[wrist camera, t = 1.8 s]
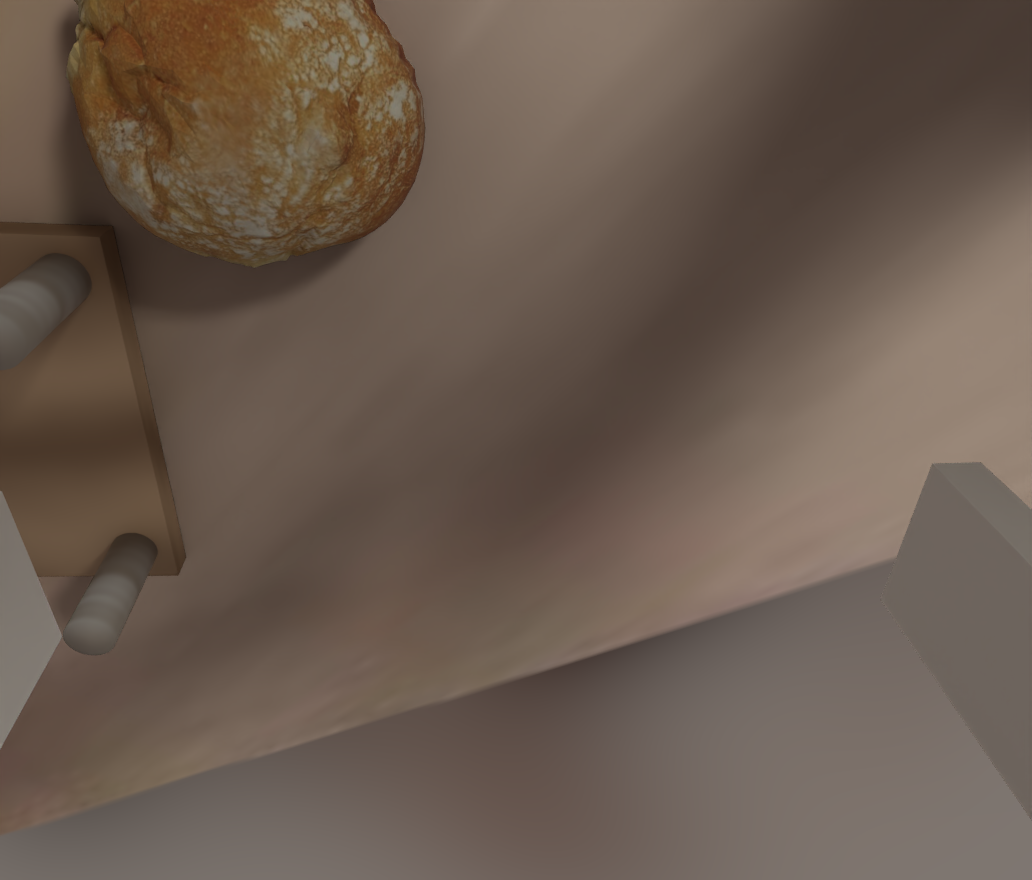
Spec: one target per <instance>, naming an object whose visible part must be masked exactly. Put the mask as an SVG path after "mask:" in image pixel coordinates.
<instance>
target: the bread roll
mask: <svg viewBox="0 0 1032 880" xmlns="http://www.w3.org/2000/svg"><path fill="white" fill-rule="evenodd" d="M74 1H75V2H76V3H77V5H78V12H79V21H80V23H79V24H78V25H76V29H75V31H76V35H77V36H76V41H77V42H76V43H75V44H74V45H73V47H72V50H71V52H70V54H69V57H68V64H67V71H66V78H67V79H68V80H69V83H70V89H71V93H72V94H73V95H74V99H75V104H76V108H77V112H78V116H79V120H80V124H81V128H82V132H83V135H84V138H85V140H86V142H87V145H88V147H89V150H90V152H91V155H92V159H93V161H94V163H95V165H96V166H97V168H98V170H99V172H100V173H101V175H102V177H103V179H104V182H105V184H106V186H107V189H108V190H109V191H110V193H111V194H112V195H113V196H114V198H115V199H116V200H117V201H118V203H119V204H120V205H121V206H122V207H123V208H124V209H125V210H126V211H127V212H128V213H129V215H130V216H131V217H132V218H133V219H134V220H135V221H136V222H138V223H139V224H140V225H141V226H143V227H144V228H145V229H147V230H148V231H150V232H151V233H152V234H154V235H155V236H157V237H159V238H161V239H164V240H166V241H168V242H170V243H172V244H174V245H176V246H178V247H180V248H183V249H185V250H187V251H190V252H194V253H196V254H199V255H202V256H205V257H208V256H213V257H216V258H219V259H221V260H224V261H228V262H231V263H235V264H243V265H244V266H251V267H253V268H256V267H259V266H261V265H264V264H268V263H272V262H276V261H287V259H288V258H289V256H290V255H295V256H299V255H303V254H306V253H309V252H313V251H316V250H319V249H322V248H326V247H330V246H333V245H338V244H342V243H347V242H351V241H354V240H356V239H359V238H361V237H364V236H365V235H367V234H369V233H371V232H373V231H375V230H376V229H377V228H378V227H380V226H381V225H382V224H384V223H385V222H386V221H387V220H388V219H389V218H390V217H391V216H392V215H393V214H394V213H395V212H396V211H397V209H398V208H399V207H400V206H401V205H402V203H403V201H404V200H405V198H406V196H407V194H408V193H409V191H410V189H411V187H412V185H413V183H414V181H415V178H416V175H417V172H418V169H419V166H420V162H421V158H422V153H423V147H424V138H425V123H424V110H423V101H422V95H421V92H420V90H419V88H418V86H417V84H416V77H415V70H414V68H413V67H412V65H411V64H410V63H409V62H408V61H407V60H406V58H405V55H404V52H403V48H402V45H401V44H400V43H399V42H398V41H396V40H395V39H394V38H393V37H392V36H391V34H390V31H389V29H388V27H387V25H386V24H385V23H384V22H383V21H382V20H381V19H380V17H379V16H378V15H377V14H376V10H375V5H374V3H373V0H74Z"/></svg>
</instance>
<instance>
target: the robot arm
mask: <svg viewBox="0 0 1032 880" xmlns="http://www.w3.org/2000/svg"><path fill="white" fill-rule="evenodd" d="M881 601H882V603H883V604H884V606H885V607H886V609H887V610H888V612H889V613H890V614H891V616H892V617H893V619H894V620H895V622H896V623H897V625H898V626H899V627H900V629H901V630H902V632H903V633H904V635H905V636H906V638H907V639H908V641H909V642H910V644H911V645H912V646H913V648H914V649H915V651H916V652H917V654H918V655H919V657H920V658H921V660H922V661H923V663H924V664H925V665H926V667H927V668H928V670H929V671H930V673H931V674H932V676H933V677H934V679H935V680H936V681H937V683H938V684H939V686H940V687H941V689H942V690H943V692H944V693H945V694H946V696H947V697H948V699H949V700H950V702H951V703H952V705H953V706H954V708H955V709H956V711H957V712H958V713H959V715H960V716H961V718H962V719H963V721H964V722H965V724H966V725H967V727H968V728H969V730H970V731H971V733H972V734H973V735H974V737H975V738H976V740H977V741H978V743H979V744H980V746H981V747H982V749H983V750H984V752H985V753H986V754H987V756H988V757H989V759H990V760H991V762H992V763H993V765H994V766H995V768H996V769H997V770H998V772H999V773H1000V775H1001V776H1002V778H1003V779H1004V781H1005V782H1006V784H1007V785H1008V787H1009V788H1010V789H1011V791H1012V792H1013V794H1014V795H1015V797H1016V798H1017V800H1018V801H1019V803H1020V804H1021V805H1022V807H1023V809H1024V810H1025V811H1026V813H1027V814H1028V816H1029V817H1030V819H1031V820H1032V510H1031V509H1030V508H1029V507H1028V506H1027V505H1026V504H1025V503H1024V502H1023V501H1022V500H1021V499H1020V498H1019V497H1017V496H1016V495H1015V494H1014V493H1013V492H1012V491H1011V490H1010V489H1009V488H1008V487H1007V486H1006V485H1005V484H1004V483H1003V482H1001V481H1000V480H999V479H998V478H997V477H996V476H995V475H994V474H993V473H992V472H991V471H990V470H989V469H988V468H986V467H985V466H984V465H983V464H982V463H981V462H972V463H938V464H932V466H931V468H930V471H929V473H928V476H927V479H926V481H925V484H924V487H923V489H922V492H921V494H920V497H919V500H918V502H917V505H916V508H915V510H914V513H913V515H912V518H911V521H910V523H909V526H908V529H907V531H906V534H905V536H904V539H903V542H902V544H901V547H900V549H899V552H898V555H897V557H896V560H895V563H894V565H893V568H892V571H891V573H890V576H889V578H888V581H887V584H886V586H885V589H884V591H883V594H882V597H881ZM61 638H62V635H61V632H60V630H59V627H58V625H57V623H56V620H55V618H54V615H53V613H52V610H51V608H50V606H49V603H48V601H47V598H46V596H45V594H44V591H43V589H42V586H41V584H40V582H39V579H38V577H37V574H36V572H35V570H34V567H33V565H32V562H31V560H30V558H29V555H28V553H27V550H26V548H25V545H24V543H23V541H22V538H21V536H20V533H19V531H18V529H17V526H16V524H15V521H14V519H13V517H12V514H11V512H10V509H9V507H8V505H7V502H6V500H5V497H4V495H3V493H2V491H0V749H1V747H2V745H3V743H4V741H5V740H6V738H7V736H8V734H9V732H10V731H11V729H12V727H13V725H14V723H15V721H16V720H17V718H18V716H19V714H20V712H21V711H22V709H23V707H24V705H25V703H26V702H27V700H28V698H29V696H30V694H31V692H32V691H33V689H34V687H35V685H36V683H37V682H38V680H39V678H40V676H41V674H42V673H43V671H44V669H45V667H46V665H47V663H48V662H49V660H50V658H51V656H52V654H53V653H54V651H55V649H56V647H57V645H58V644H59V642H60V640H61Z"/></svg>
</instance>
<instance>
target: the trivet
mask: <svg viewBox="0 0 1032 880" xmlns="http://www.w3.org/2000/svg"><path fill="white" fill-rule="evenodd" d="M0 491H2V493H3V495H4V497H5V500H6V502H7V505H8V507H9V509H10V512H11V514H12V517H13V519H14V521H15V524H16V526H17V529H18V531H19V533H20V536H21V538H22V541H23V543H24V545H25V548H26V550H27V553H28V555H29V558H30V560H31V562H32V565H33V567H34V570H35V572H36V574H37V577H41V576H94V577H93V579H92V581H91V583H90V585H89V586H88V588H87V590H86V592H85V593H84V595H83V597H82V599H81V601H80V602H79V604H78V606H77V608H76V610H75V611H74V613H73V615H72V617H71V619H70V620H69V622H68V624H67V626H66V627H65V629H64V632H63V638H64V641H65V642H66V644H67V645H68V646H69V647H70V648H72V649H73V650H75V651H77V652H80V653H82V654H87V655H102V654H105V653H108V652H109V651H111V650H112V649H113V648H114V646H115V644H116V642H117V640H118V637H119V635H120V633H121V631H122V629H123V627H124V625H125V623H126V621H127V618H128V616H129V614H130V612H131V610H132V608H133V606H134V604H135V602H136V599H137V597H138V595H139V593H140V591H141V589H142V587H143V585H144V583H145V580H146V578H147V576H171V575H179V572H180V570H181V568H182V565H183V563H184V561H185V558H186V555H185V550H184V546H183V541H182V537H181V532H180V528H179V523H178V519H177V514H176V510H175V505H174V501H173V496H172V492H171V487H170V483H169V478H168V474H167V469H166V465H165V460H164V456H163V451H162V446H161V442H160V437H159V433H158V428H157V424H156V419H155V415H154V410H153V406H152V401H151V397H150V392H149V388H148V383H147V379H146V374H145V370H144V365H143V361H142V356H141V352H140V347H139V343H138V338H137V334H136V329H135V325H134V320H133V316H132V311H131V307H130V302H129V298H128V293H127V289H126V284H125V280H124V275H123V271H122V266H121V262H120V257H119V253H118V248H117V244H116V239H115V235H114V230H113V226H96V225H69V224H41V223H14V222H0Z"/></svg>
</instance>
